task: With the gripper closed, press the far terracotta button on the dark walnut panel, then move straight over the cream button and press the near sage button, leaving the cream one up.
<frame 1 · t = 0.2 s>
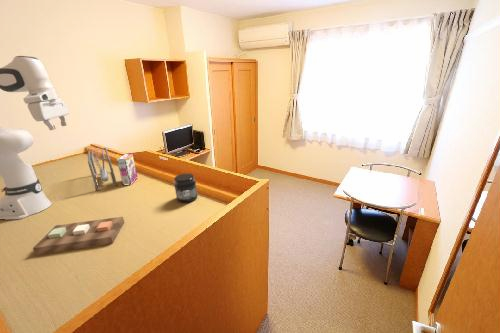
hand: (59, 127, 106), 39 cm above the table, tool pointing down, fingers open, 8 cm apart
newton's cradle: (105, 180, 147), on the table
sage button: (57, 234, 90), point 3 cm above the table, slide at 0.0 cm
button panel: (84, 237, 93), on the table
cream button: (81, 230, 92), point 3 cm above the table, slide at 0.0 cm
terracotta button: (105, 227, 93), point 3 cm above the table, slide at 0.0 cm
candy bar box: (131, 182, 143), on the table
supplement container: (187, 198, 119), on the table
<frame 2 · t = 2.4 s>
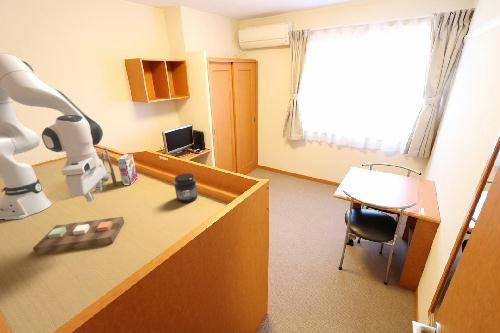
hand: (95, 195, 88), 17 cm above the table, tool pointing down, fingers open, 6 cm apart
nothing on the table moved.
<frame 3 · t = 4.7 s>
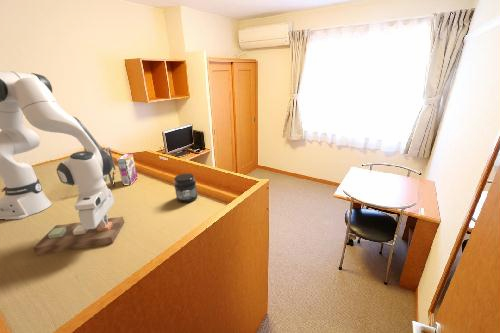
hand: (104, 225, 92), 4 cm above the table, tool pointing down, fingers closed, pressing on terracotta button
terracotta button: (105, 228, 93), point 3 cm above the table, slide at 0.4 cm, touching gripper
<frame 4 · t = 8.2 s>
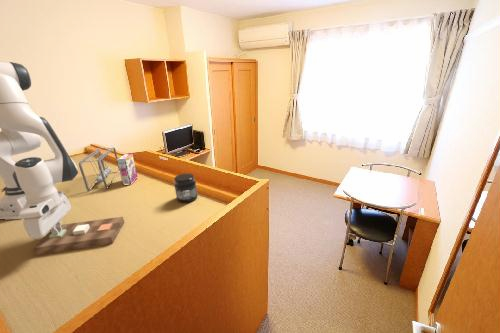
hand: (58, 232, 90), 4 cm above the table, tool pointing down, fingers closed, pressing on sage button
sage button: (58, 236, 91), point 2 cm above the table, slide at 0.9 cm, touching gripper
terracotta button: (105, 230, 93), point 2 cm above the table, slide at 1.1 cm
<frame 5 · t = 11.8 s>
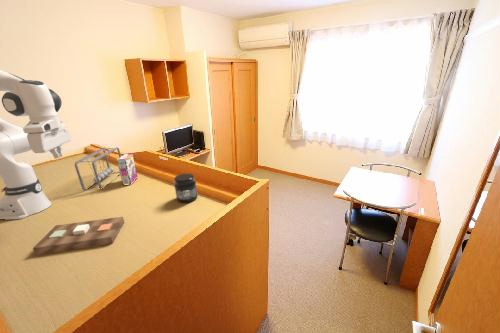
hand: (58, 157, 96), 29 cm above the table, tool pointing down, fingers closed
sage button: (59, 236, 91), point 2 cm above the table, slide at 1.2 cm
at the end: terracotta button slide at 1.1 cm; sage button slide at 1.2 cm; cream button slide at 0.0 cm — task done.
